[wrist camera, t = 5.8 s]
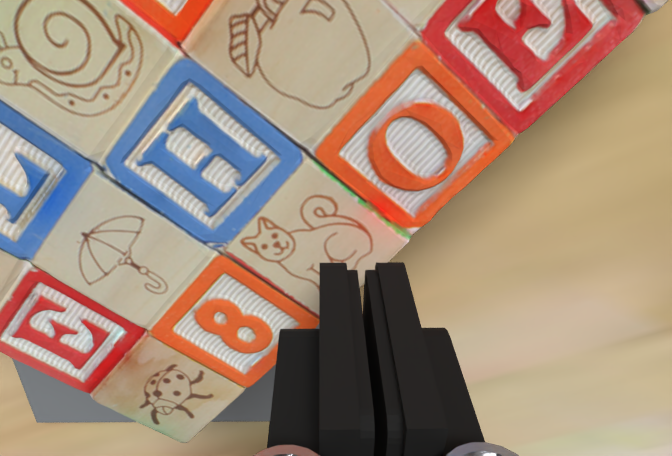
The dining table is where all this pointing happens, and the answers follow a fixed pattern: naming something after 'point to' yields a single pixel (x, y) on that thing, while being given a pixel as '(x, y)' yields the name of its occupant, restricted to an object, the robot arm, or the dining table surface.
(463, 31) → the stack of blocks
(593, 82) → the dining table surface
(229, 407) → the mat
